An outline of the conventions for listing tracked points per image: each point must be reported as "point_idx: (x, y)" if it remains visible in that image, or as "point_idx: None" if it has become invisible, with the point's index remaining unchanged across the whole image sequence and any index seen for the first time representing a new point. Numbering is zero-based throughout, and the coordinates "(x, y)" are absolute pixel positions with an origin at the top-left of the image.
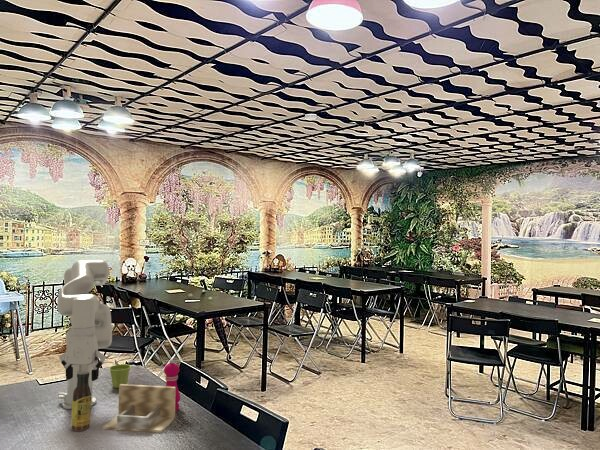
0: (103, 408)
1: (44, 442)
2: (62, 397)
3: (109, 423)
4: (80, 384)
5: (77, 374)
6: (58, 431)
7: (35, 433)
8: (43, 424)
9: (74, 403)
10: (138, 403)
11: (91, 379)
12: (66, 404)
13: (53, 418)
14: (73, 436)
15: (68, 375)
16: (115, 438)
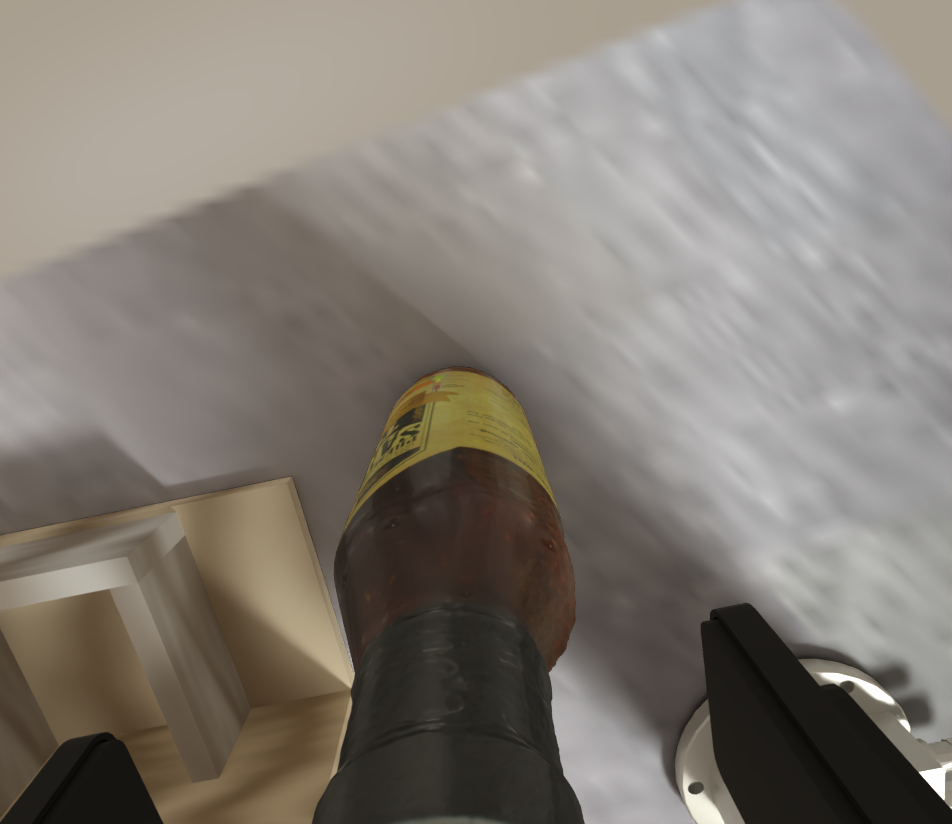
0: (564, 748)
1: (528, 120)
2: (944, 749)
3: (285, 546)
4: (420, 632)
5: (524, 810)
6: (579, 329)
7: (727, 236)
8: (788, 392)
9: (467, 436)
10: (154, 802)
11: (103, 757)
12: (852, 696)
13: (792, 502)
14: (396, 295)
15: (752, 705)
16: (66, 377)
